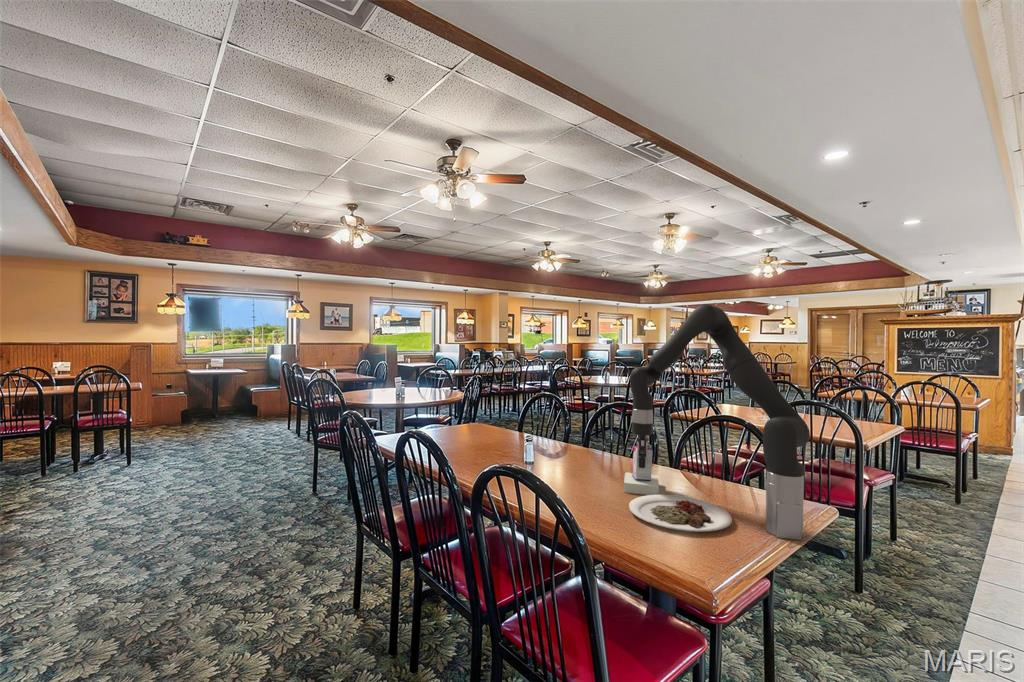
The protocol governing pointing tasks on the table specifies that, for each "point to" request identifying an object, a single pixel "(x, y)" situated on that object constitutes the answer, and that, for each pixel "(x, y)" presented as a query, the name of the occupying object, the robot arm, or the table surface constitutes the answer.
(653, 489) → the sage block
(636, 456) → the supplement box
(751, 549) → the table surface
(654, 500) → the plated food
